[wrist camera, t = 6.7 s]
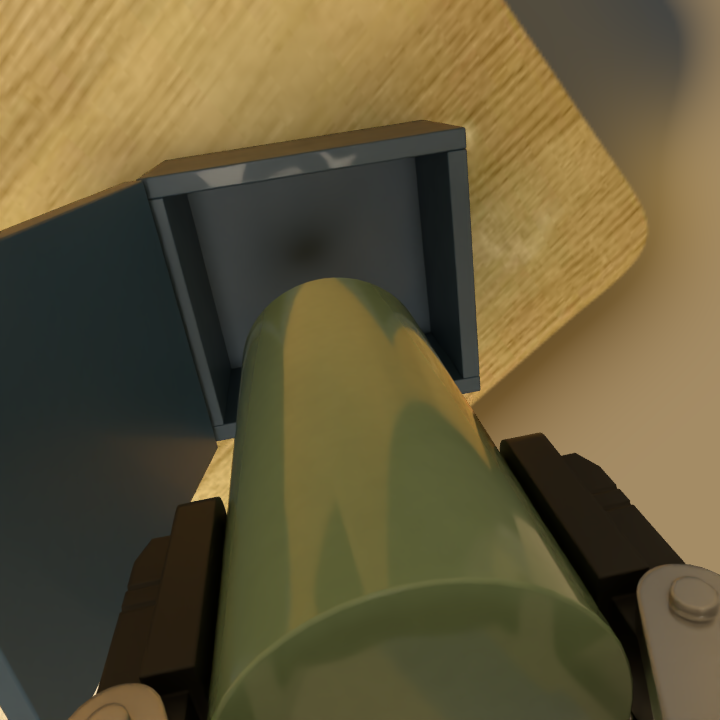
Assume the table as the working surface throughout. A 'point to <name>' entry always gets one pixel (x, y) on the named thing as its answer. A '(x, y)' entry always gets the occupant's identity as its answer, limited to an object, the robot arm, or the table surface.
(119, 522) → the lid
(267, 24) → the table surface
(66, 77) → the table surface
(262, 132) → the table surface
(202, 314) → the box
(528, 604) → the pale green cylinder
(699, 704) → the robot arm
